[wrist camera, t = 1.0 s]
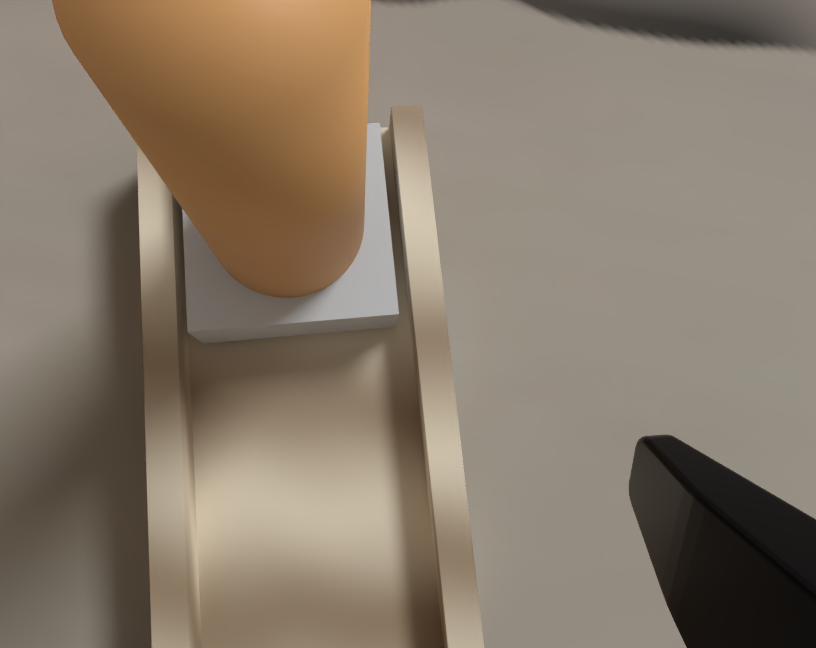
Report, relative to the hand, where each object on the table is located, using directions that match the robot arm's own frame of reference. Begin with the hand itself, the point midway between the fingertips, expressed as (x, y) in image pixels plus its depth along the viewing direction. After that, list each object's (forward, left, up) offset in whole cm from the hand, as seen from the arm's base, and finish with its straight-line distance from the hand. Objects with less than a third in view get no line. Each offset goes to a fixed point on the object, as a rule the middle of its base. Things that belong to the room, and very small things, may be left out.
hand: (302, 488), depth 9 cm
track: (0, +2, -14) cm, 14 cm away
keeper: (+4, +6, -12) cm, 14 cm away
